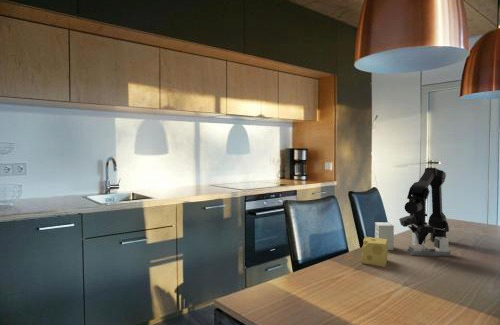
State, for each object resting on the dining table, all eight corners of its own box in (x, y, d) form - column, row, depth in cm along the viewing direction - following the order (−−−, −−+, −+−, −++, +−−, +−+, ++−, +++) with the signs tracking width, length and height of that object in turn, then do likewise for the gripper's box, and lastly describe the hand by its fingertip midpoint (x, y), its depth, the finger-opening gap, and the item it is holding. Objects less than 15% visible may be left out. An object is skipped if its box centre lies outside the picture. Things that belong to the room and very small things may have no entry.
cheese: (360, 263, 145) (361, 241, 145) (364, 256, 155) (365, 235, 154) (386, 267, 140) (386, 244, 140) (388, 260, 150) (388, 238, 150)
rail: (445, 253, 159) (446, 236, 159) (450, 255, 155) (450, 239, 155) (407, 252, 160) (407, 236, 160) (411, 255, 156) (411, 238, 156)
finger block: (421, 244, 160) (421, 231, 160) (425, 246, 156) (425, 234, 156) (411, 243, 160) (412, 231, 160) (415, 246, 156) (415, 233, 156)
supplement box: (389, 246, 171) (389, 222, 171) (393, 250, 164) (394, 225, 163) (374, 245, 172) (374, 221, 171) (378, 250, 165) (378, 225, 164)
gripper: (394, 207, 167) (393, 237, 168) (409, 214, 148) (409, 248, 149) (416, 207, 166) (416, 238, 167) (435, 215, 148) (434, 249, 148)
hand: (418, 243), depth 158 cm, fingers closed on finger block, 4 cm apart
